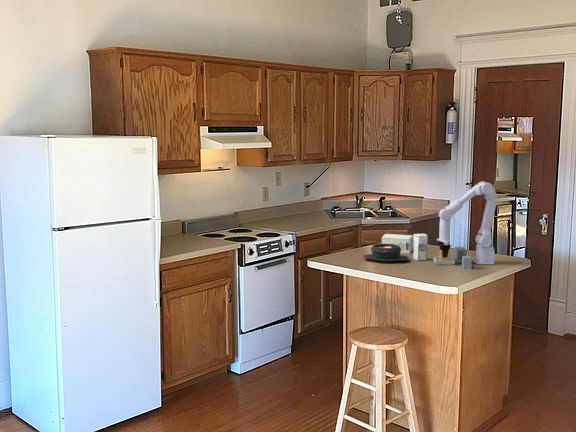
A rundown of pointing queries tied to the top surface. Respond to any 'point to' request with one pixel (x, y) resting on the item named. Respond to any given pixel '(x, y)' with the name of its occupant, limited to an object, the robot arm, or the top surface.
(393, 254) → the black round brimmed piece
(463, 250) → the grey housing
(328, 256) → the top surface
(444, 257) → the terracotta block
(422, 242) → the syrup box
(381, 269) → the top surface
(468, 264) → the slate block
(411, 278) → the top surface
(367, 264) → the top surface
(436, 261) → the sage tray
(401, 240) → the supplement box
